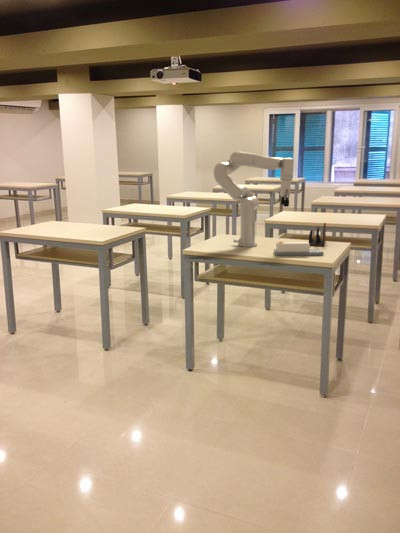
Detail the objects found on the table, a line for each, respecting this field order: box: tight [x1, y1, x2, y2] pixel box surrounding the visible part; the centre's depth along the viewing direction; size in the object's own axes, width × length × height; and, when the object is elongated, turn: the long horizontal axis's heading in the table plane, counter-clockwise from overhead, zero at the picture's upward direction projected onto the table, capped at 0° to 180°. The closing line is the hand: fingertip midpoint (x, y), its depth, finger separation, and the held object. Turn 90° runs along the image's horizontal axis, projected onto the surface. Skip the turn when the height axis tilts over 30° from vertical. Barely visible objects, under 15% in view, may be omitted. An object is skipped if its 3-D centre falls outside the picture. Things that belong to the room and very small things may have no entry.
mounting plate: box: [273, 248, 325, 257], centre depth 296 cm, size 28×10×4 cm, turn 92°
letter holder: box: [308, 222, 327, 247], centre depth 328 cm, size 10×20×14 cm, turn 163°
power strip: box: [275, 241, 311, 252], centre depth 295 cm, size 19×6×6 cm, turn 92°
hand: (284, 205), depth 309 cm, fingers open, 9 cm apart
